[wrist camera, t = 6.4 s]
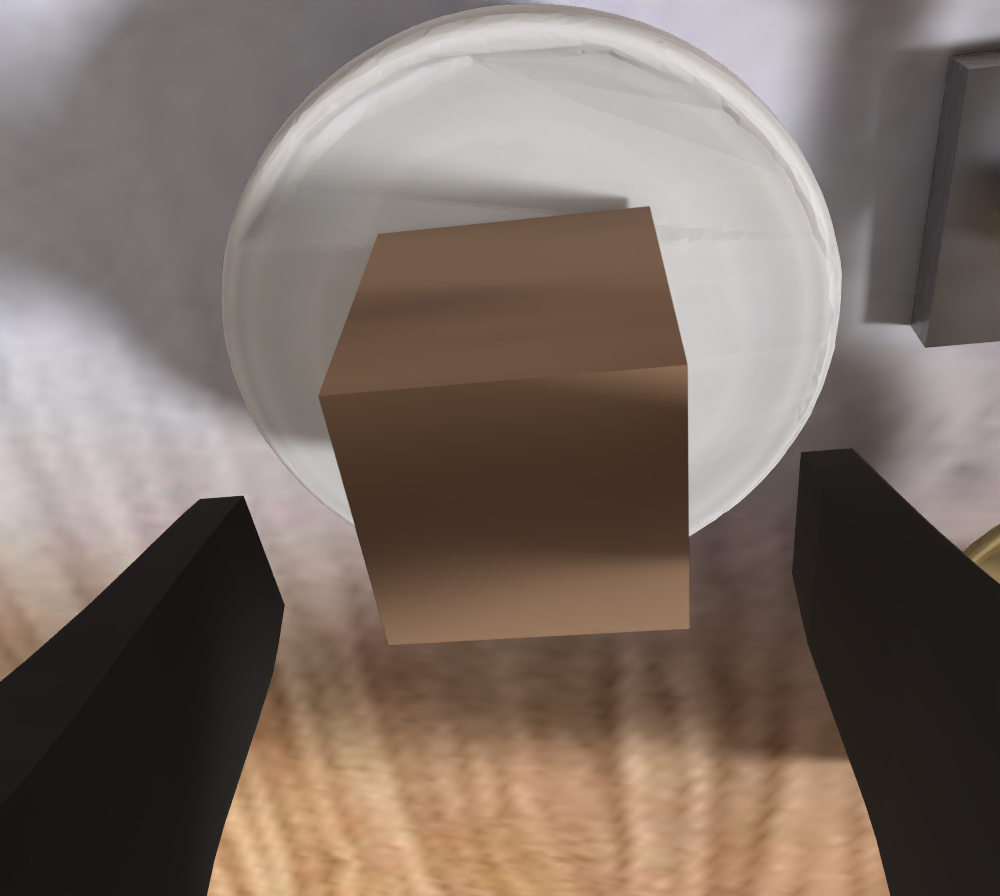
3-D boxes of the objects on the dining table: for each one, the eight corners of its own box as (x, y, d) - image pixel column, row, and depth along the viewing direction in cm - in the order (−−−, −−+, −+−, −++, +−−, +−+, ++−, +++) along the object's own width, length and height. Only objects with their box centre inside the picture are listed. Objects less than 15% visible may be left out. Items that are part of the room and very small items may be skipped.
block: (656, 432, 18) (689, 628, 14) (424, 450, 18) (388, 645, 14) (649, 205, 15) (688, 365, 11) (378, 233, 15) (317, 396, 11)
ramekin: (631, -178, 16) (661, -160, 12) (861, 307, 22) (938, 437, 17) (177, 160, 20) (79, 263, 16) (465, 499, 26) (449, 645, 21)
